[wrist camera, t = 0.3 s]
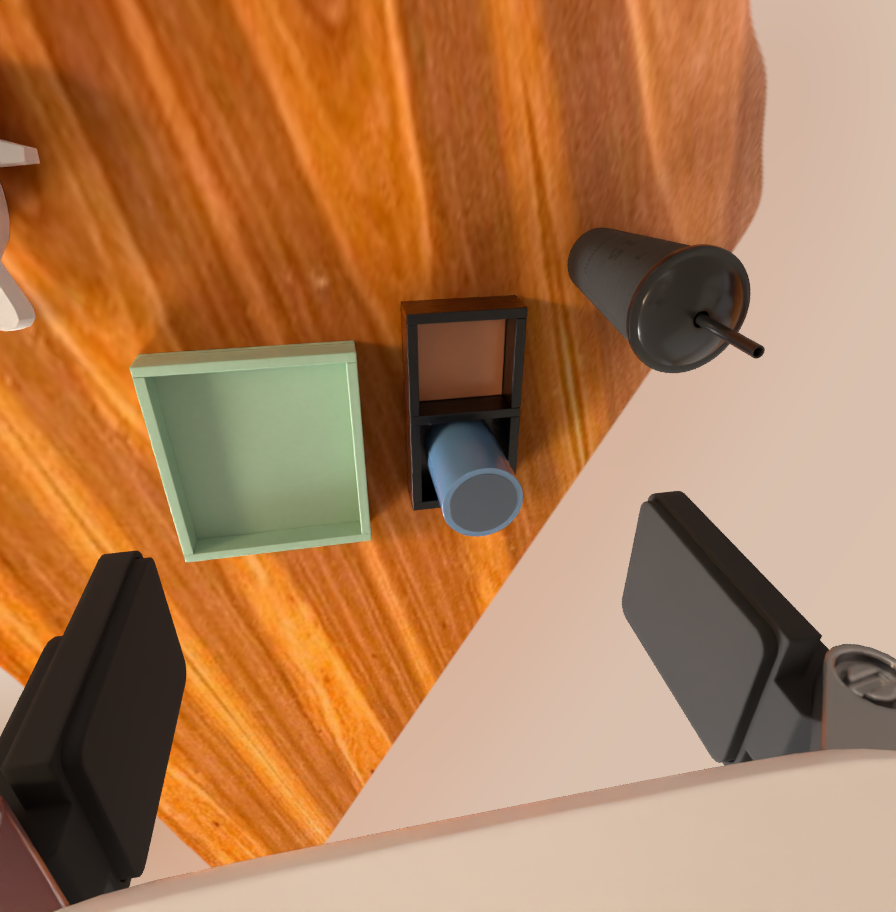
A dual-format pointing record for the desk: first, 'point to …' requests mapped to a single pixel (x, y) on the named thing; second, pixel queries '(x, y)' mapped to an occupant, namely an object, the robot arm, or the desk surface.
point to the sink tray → (258, 446)
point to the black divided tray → (460, 375)
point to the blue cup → (472, 477)
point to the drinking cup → (665, 296)
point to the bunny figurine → (3, 298)
